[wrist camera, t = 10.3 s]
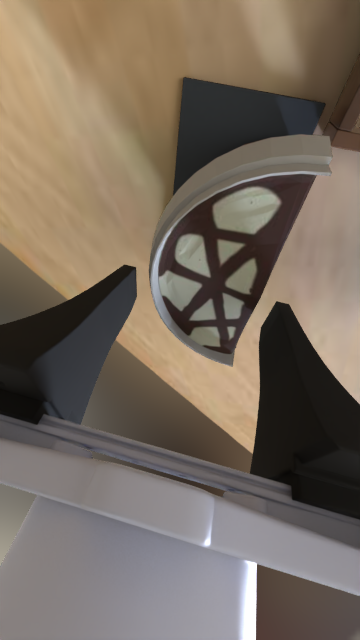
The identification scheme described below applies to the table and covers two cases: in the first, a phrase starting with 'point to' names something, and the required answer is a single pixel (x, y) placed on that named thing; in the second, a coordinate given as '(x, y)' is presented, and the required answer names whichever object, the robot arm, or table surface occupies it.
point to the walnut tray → (346, 114)
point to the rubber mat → (233, 122)
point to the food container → (230, 238)
